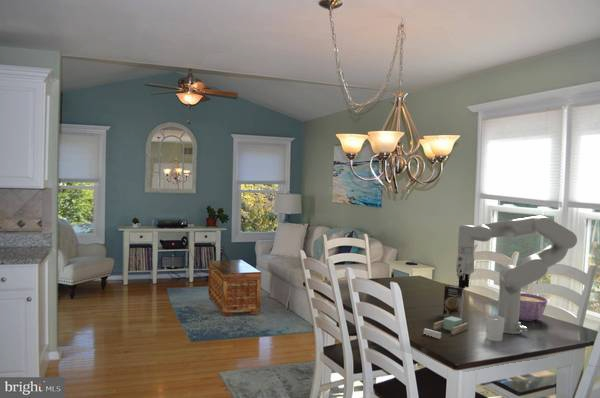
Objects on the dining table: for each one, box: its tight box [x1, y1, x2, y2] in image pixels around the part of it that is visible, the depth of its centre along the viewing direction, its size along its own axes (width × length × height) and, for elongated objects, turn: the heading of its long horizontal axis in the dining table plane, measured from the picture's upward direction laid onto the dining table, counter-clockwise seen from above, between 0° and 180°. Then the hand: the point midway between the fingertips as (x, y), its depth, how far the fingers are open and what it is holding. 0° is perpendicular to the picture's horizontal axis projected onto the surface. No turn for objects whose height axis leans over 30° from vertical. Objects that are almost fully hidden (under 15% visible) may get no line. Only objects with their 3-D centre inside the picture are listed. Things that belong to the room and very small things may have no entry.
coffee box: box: [442, 284, 465, 319], centre depth 263 cm, size 9×6×16 cm
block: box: [442, 316, 464, 332], centre depth 241 cm, size 6×7×5 cm
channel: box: [432, 319, 469, 336], centre depth 240 cm, size 10×14×3 cm
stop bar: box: [423, 327, 442, 339], centre depth 228 cm, size 8×2×2 cm, turn 44°
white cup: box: [485, 314, 505, 342], centre depth 227 cm, size 8×8×10 cm
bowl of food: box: [519, 292, 548, 322], centre depth 264 cm, size 20×20×12 cm
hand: (463, 286), depth 246 cm, fingers open, 3 cm apart
